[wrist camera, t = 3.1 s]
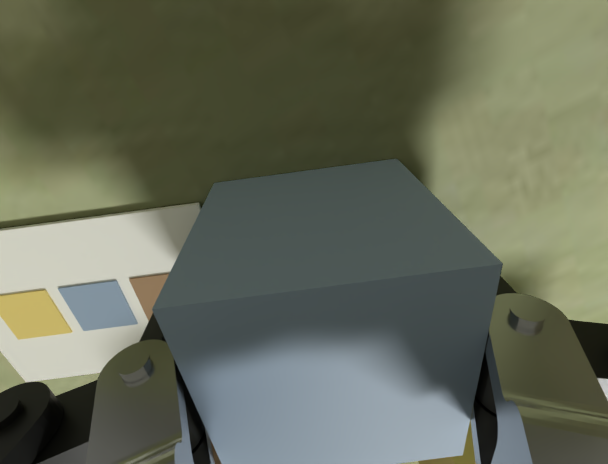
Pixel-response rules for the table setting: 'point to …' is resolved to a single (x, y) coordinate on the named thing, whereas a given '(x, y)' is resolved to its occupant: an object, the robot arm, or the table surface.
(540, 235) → the table surface
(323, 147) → the table surface
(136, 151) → the table surface
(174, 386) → the robot arm
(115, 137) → the table surface
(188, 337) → the brick blue
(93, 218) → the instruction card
